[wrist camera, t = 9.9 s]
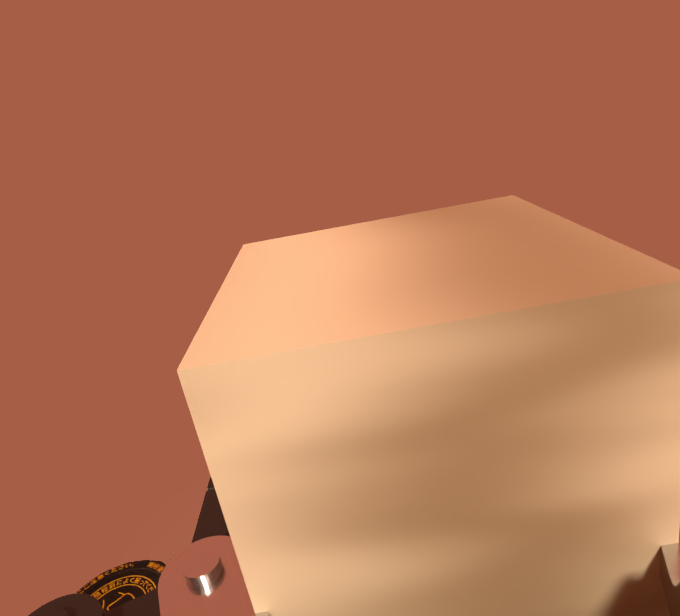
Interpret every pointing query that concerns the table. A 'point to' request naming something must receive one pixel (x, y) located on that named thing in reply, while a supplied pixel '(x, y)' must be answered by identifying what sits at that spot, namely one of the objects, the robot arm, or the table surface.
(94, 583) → the condiment
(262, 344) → the maple block
